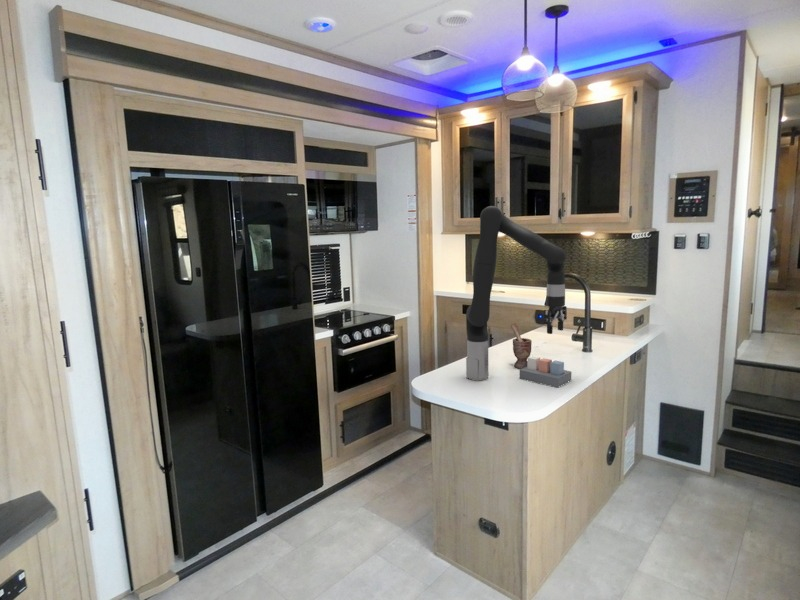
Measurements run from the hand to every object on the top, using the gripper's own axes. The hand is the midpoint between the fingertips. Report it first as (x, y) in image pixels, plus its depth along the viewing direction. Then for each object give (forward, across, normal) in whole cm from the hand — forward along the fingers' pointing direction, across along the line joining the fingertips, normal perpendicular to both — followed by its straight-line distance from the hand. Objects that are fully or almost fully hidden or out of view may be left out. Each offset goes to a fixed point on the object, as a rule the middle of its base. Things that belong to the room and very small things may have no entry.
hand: (555, 331), depth 204 cm
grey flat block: (+21, -3, +2) cm, 21 cm away
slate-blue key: (+17, -3, -3) cm, 18 cm away
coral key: (+17, -3, +2) cm, 18 cm away
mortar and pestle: (+21, +6, +22) cm, 31 cm away
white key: (+17, -4, +8) cm, 19 cm away
